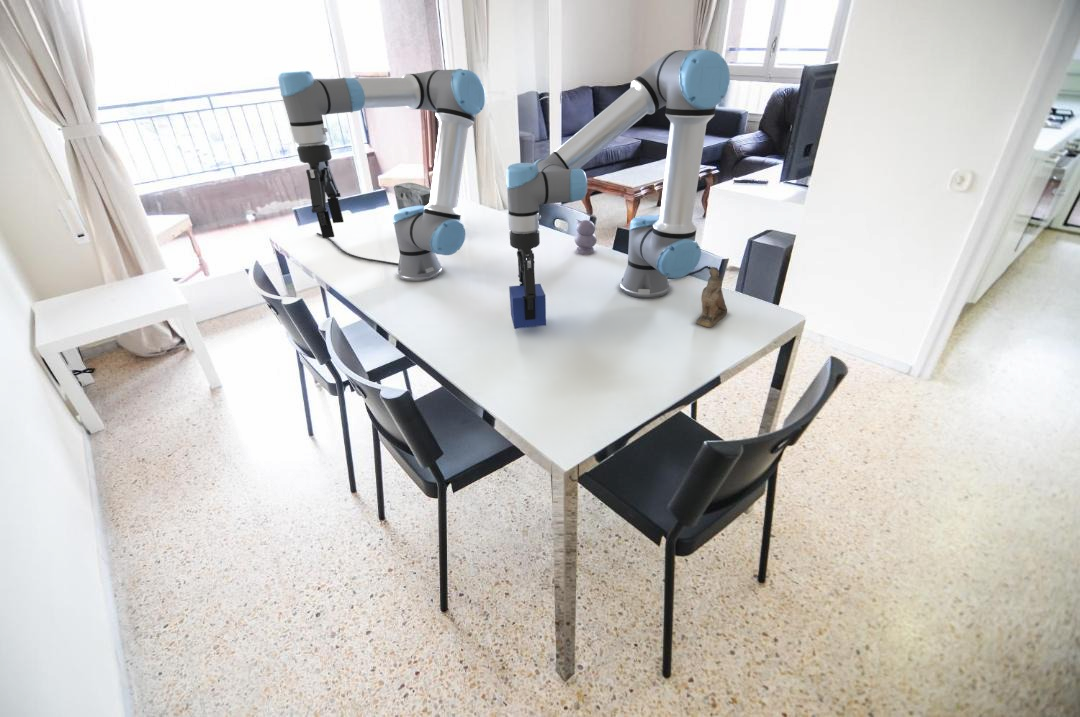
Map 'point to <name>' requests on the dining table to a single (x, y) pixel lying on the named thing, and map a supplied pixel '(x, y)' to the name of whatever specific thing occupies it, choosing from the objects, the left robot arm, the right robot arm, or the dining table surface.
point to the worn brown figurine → (712, 301)
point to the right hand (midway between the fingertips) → (527, 311)
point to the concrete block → (411, 195)
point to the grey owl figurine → (585, 237)
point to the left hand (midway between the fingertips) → (333, 229)
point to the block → (519, 307)
